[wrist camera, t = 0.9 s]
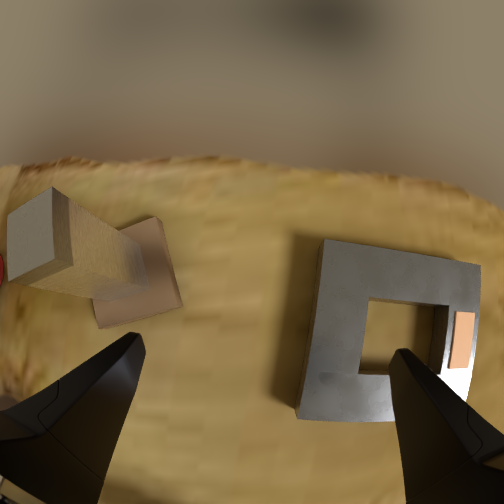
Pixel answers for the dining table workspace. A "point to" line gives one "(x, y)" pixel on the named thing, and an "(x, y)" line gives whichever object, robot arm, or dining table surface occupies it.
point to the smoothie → (1, 269)
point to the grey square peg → (71, 251)
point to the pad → (158, 274)
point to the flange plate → (354, 321)
